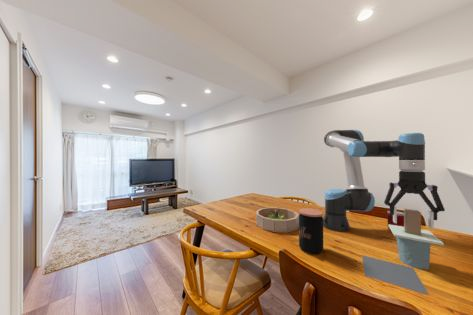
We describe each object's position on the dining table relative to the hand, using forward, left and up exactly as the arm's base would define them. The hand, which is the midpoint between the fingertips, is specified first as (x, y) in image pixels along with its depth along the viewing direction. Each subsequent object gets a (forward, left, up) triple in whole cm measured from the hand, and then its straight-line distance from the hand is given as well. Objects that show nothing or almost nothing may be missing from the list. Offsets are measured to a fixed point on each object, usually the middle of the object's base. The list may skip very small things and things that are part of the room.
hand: (412, 224), depth 70 cm
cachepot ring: (-62, +11, -16) cm, 65 cm away
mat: (-9, -13, -16) cm, 22 cm away
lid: (0, 0, -4) cm, 4 cm away
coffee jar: (-37, -11, -16) cm, 42 cm away
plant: (-62, +9, -17) cm, 65 cm away
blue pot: (0, 0, -16) cm, 16 cm away
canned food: (+2, +40, -16) cm, 43 cm away
